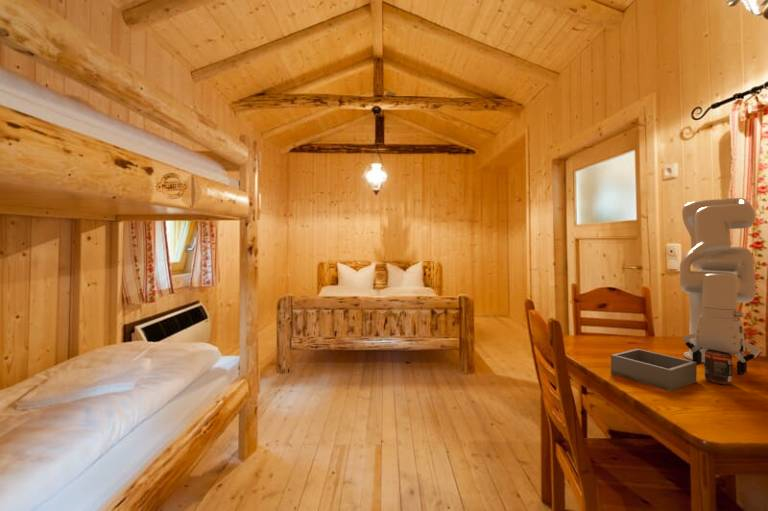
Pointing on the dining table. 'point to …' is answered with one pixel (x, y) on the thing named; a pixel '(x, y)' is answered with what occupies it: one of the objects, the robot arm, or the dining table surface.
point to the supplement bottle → (718, 367)
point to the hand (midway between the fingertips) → (718, 369)
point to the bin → (654, 369)
